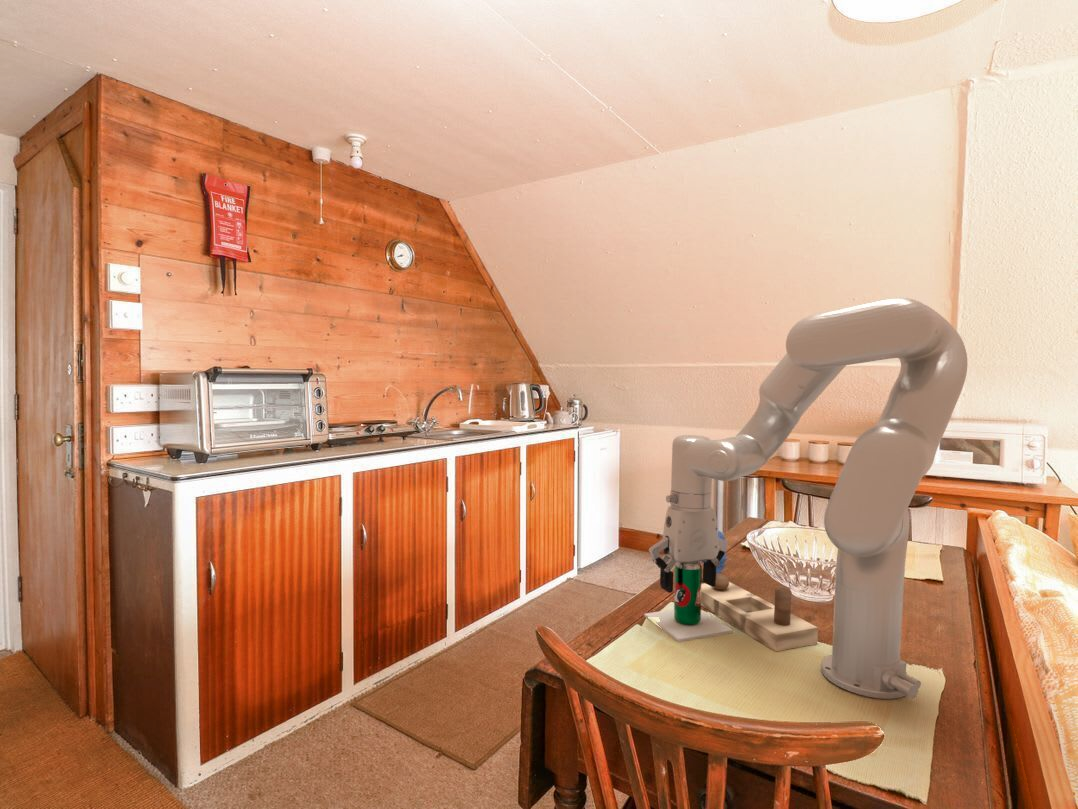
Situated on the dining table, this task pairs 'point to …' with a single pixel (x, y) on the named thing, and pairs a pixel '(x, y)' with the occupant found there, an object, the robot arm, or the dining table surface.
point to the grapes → (724, 559)
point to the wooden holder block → (759, 615)
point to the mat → (689, 626)
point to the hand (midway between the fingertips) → (688, 587)
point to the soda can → (687, 593)
